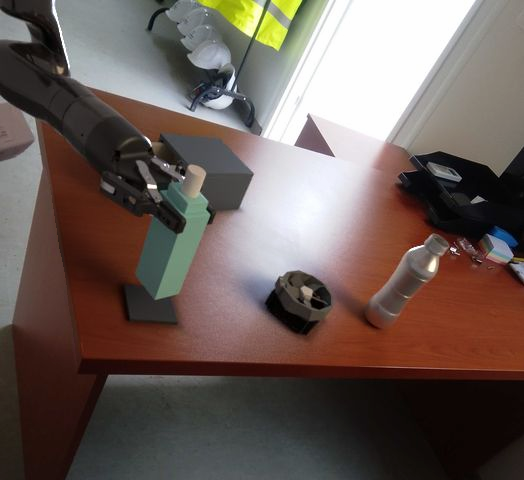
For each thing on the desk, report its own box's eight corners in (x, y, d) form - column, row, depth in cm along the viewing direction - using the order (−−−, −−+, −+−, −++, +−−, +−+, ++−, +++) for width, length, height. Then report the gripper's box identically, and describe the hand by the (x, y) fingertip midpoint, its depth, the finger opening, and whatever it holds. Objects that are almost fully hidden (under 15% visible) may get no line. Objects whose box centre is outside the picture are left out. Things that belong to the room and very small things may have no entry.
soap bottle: (154, 300, 63) (195, 184, 51) (134, 274, 65) (169, 156, 52) (178, 294, 66) (223, 183, 53) (159, 269, 67) (198, 156, 55)
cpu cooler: (343, 296, 81) (320, 320, 73) (327, 318, 84) (304, 342, 77) (297, 261, 82) (270, 281, 74) (284, 284, 86) (257, 305, 78)
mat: (128, 321, 64) (129, 318, 64) (123, 286, 68) (124, 283, 68) (176, 324, 67) (178, 322, 67) (169, 291, 71) (170, 289, 71)
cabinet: (182, 213, 87) (196, 173, 82) (149, 173, 92) (160, 133, 86) (238, 209, 97) (254, 173, 91) (206, 173, 101) (219, 137, 96)
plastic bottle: (371, 333, 87) (440, 252, 74) (354, 307, 91) (417, 226, 77) (394, 332, 91) (463, 255, 78) (376, 307, 94) (440, 229, 81)
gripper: (62, 116, 52) (164, 208, 48) (155, 112, 62) (244, 188, 59) (55, 174, 57) (147, 261, 53) (142, 162, 67) (224, 234, 64)
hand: (197, 223), depth 56 cm, fingers closed on soap bottle, 4 cm apart
